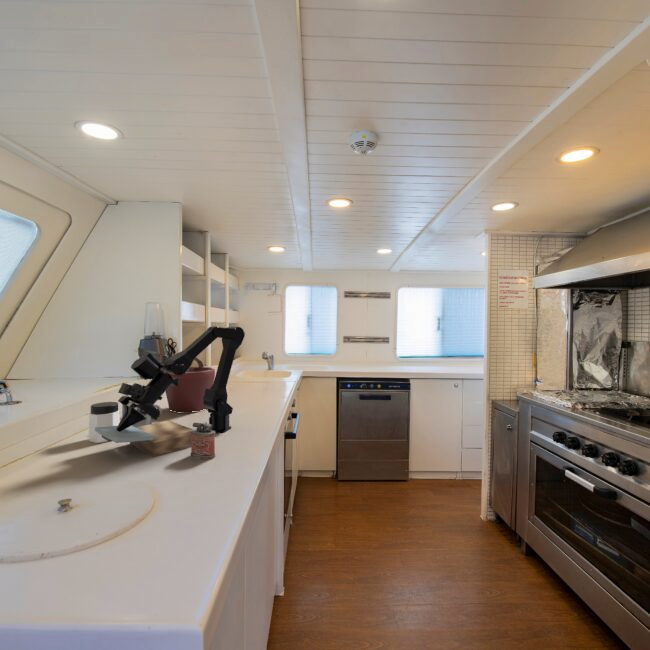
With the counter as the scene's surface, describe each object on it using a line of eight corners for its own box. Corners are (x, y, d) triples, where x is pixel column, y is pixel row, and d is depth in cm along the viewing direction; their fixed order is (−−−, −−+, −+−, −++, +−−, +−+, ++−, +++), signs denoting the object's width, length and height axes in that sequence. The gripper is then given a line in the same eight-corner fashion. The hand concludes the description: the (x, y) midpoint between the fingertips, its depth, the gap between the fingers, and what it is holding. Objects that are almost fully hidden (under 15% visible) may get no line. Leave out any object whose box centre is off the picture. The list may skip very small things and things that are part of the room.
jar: (88, 444, 115) (88, 408, 116) (89, 438, 122) (89, 403, 122) (120, 439, 120) (120, 404, 120) (118, 433, 127) (118, 400, 127)
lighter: (217, 456, 105) (217, 422, 105) (210, 460, 102) (210, 425, 102) (195, 453, 108) (195, 420, 108) (187, 456, 104) (187, 423, 105)
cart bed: (168, 434, 126) (168, 420, 126) (194, 445, 115) (194, 429, 115) (129, 443, 116) (130, 428, 116) (154, 456, 105) (154, 439, 105)
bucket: (188, 417, 151) (188, 358, 151) (149, 413, 159) (149, 357, 159) (224, 405, 173) (223, 354, 174) (188, 402, 181) (188, 353, 182)
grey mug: (119, 431, 130) (119, 404, 130) (125, 424, 139) (125, 399, 139) (159, 428, 134) (159, 402, 134) (162, 421, 144) (162, 397, 144)
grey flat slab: (129, 424, 116) (95, 426, 109) (153, 435, 105) (117, 438, 97) (128, 431, 116) (94, 433, 109) (152, 442, 104) (115, 446, 97)
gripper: (125, 370, 116) (85, 410, 107) (149, 375, 104) (107, 420, 95) (149, 391, 122) (114, 430, 113) (175, 398, 109) (138, 442, 101)
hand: (117, 430), depth 105 cm, fingers closed
